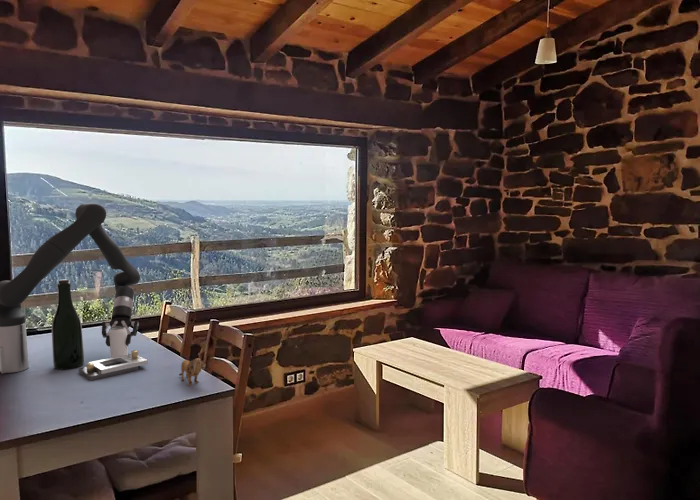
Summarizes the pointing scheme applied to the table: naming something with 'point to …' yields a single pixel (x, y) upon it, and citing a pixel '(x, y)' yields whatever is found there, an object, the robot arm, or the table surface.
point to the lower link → (94, 375)
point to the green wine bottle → (66, 331)
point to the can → (118, 341)
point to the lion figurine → (191, 369)
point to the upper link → (126, 360)
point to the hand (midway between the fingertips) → (117, 344)
